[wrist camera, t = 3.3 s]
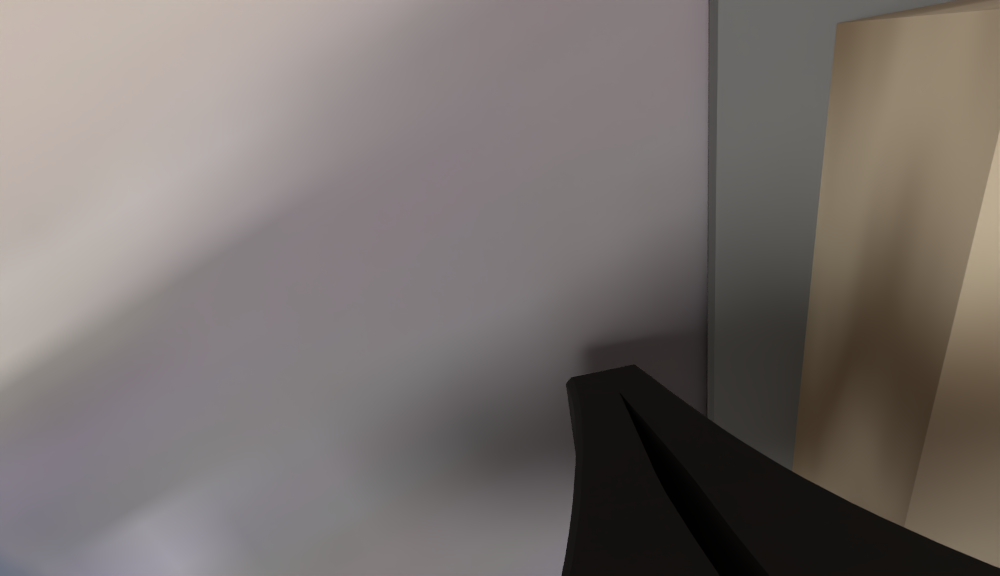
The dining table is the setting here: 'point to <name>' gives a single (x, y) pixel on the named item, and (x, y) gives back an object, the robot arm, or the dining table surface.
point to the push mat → (767, 202)
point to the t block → (910, 277)
